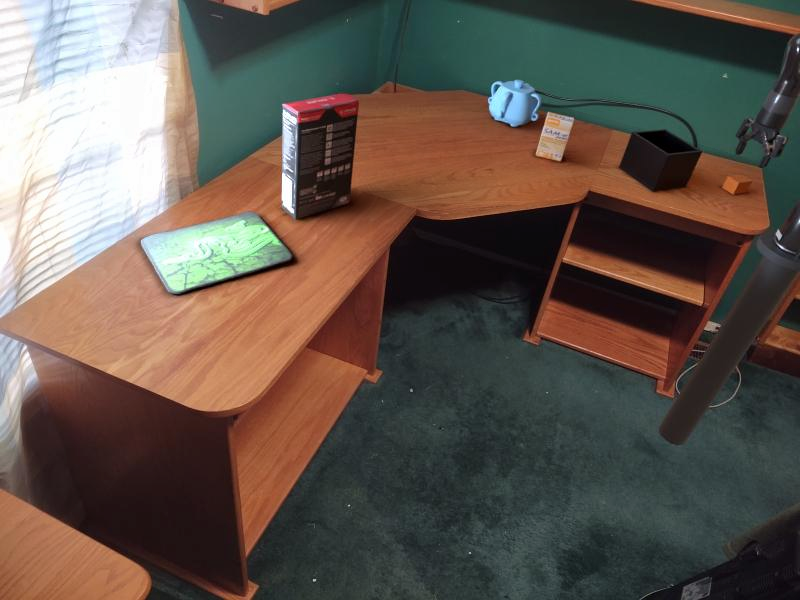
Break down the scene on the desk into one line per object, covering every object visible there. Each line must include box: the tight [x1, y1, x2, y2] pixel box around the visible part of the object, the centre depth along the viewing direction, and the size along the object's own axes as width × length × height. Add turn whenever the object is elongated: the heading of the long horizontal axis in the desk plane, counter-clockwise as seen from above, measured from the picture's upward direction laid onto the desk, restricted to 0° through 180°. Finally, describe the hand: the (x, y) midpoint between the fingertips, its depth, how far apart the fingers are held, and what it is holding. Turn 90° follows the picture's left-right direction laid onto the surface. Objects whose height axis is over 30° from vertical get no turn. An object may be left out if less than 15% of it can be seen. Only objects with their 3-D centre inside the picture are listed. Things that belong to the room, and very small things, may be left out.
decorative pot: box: [487, 79, 543, 128], centre depth 204 cm, size 16×16×14 cm
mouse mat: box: [140, 211, 293, 295], centre depth 130 cm, size 27×22×1 cm
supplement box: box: [535, 111, 575, 163], centre depth 184 cm, size 8×5×13 cm, turn 73°
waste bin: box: [618, 128, 703, 193], centre depth 181 cm, size 16×14×12 cm
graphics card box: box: [281, 92, 360, 220], centre depth 141 cm, size 17×7×27 cm, turn 131°
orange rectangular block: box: [721, 173, 753, 195], centre depth 183 cm, size 4×6×4 cm
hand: (749, 160), depth 178 cm, fingers open, 8 cm apart
